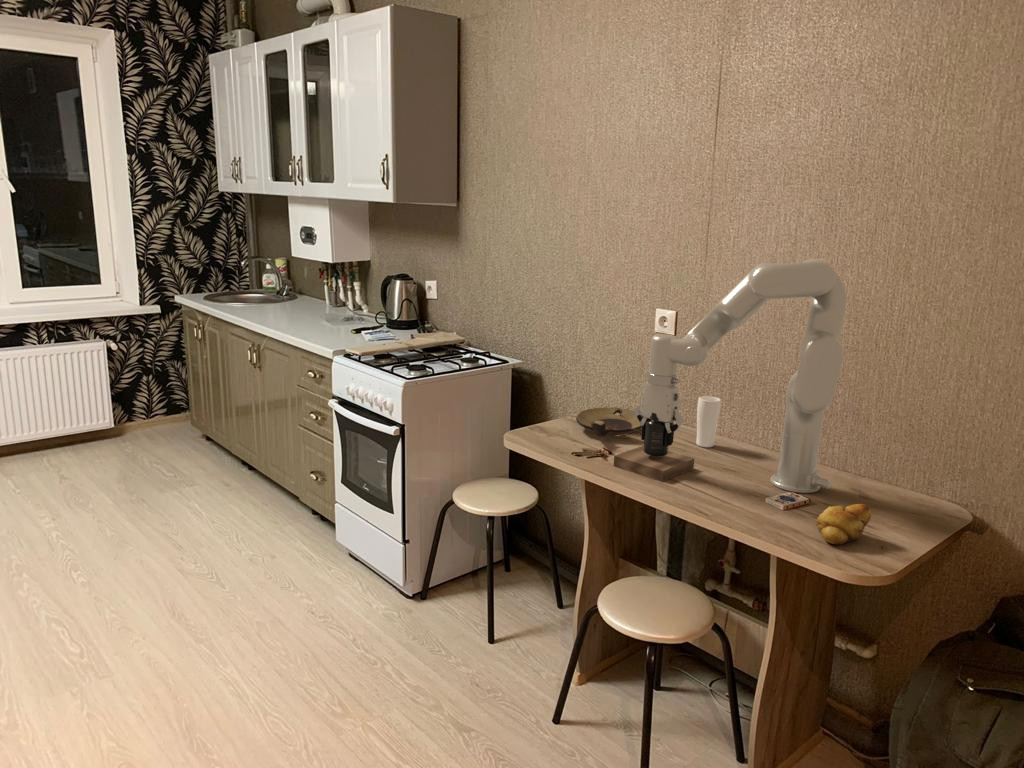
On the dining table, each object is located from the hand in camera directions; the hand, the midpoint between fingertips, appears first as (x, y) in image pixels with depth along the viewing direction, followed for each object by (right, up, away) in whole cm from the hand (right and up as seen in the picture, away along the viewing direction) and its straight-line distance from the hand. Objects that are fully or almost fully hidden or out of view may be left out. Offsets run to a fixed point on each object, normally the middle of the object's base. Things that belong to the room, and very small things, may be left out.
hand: (656, 441), depth 209 cm
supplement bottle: (0, -3, +1) cm, 4 cm away
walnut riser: (-1, -7, +2) cm, 8 cm away
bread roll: (+33, -19, -39) cm, 55 cm away
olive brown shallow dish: (-10, 0, +33) cm, 34 cm away
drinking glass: (+19, -3, +24) cm, 31 cm away
